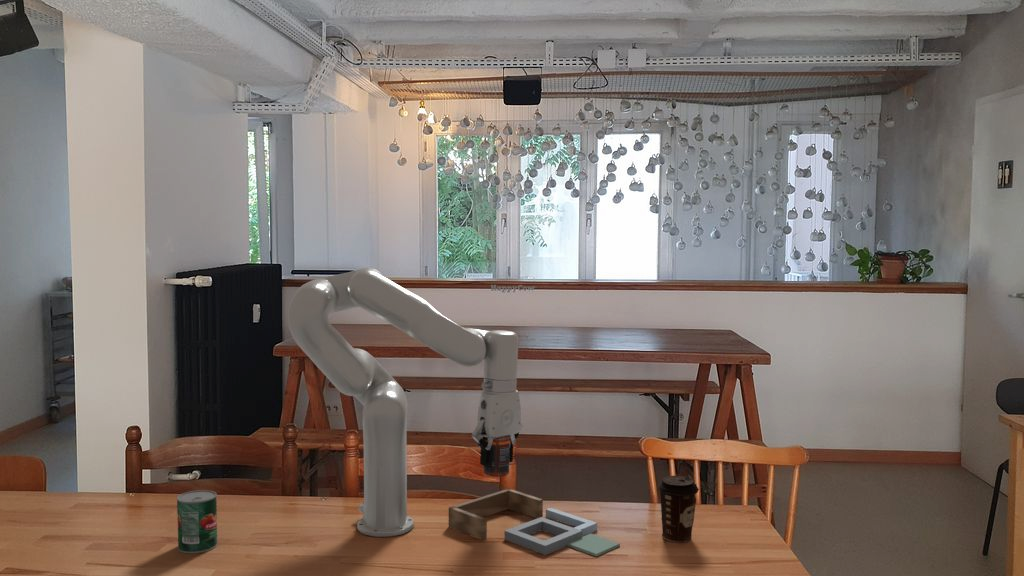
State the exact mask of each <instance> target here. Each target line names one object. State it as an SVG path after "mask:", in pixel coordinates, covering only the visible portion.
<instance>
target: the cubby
mask: <svg viewBox="0 0 1024 576" xmlns="http://www.w3.org/2000/svg"><path fill="white" fill-rule="evenodd" d="M543 500H544V499H542V498H539V497H537V496H534V495H531V494H527V493H525V492H521V491H519V490H518V491H517V490H515V489H511V488H505V489H502V490H500V491H496V492H494V493H490V494H487V495H484V496H481V497H477V498H474V499H472V500H468V501H465V502H462V503H459V504H458V503H457V504H455V505H453V506H450V507H448V528H451V529H453V530H455V531H458V532H461V533H463V534H465V533H466V535H468V534H469V535H468V536H470V535H472V536H471V537H473V536H474V537H473V538H475V537H477V538H476V539H478V538H479V539H478V540H481V539H482V540H481V541H485V540H487V539H488V536H487V535H488V534H487V533H488V532H487V531H488V528H487V527H488V524H487V523H488V521H487V520H488V519H487V518H486V517H489V516H492V515H495V514H498V513H501V512H503V511H507V510H510V511H513V512H516V511H517V513H519V512H520V513H519V514H522V513H524V514H523V515H525V514H526V516H528V515H529V516H528V517H531V516H532V518H534V517H535V518H534V519H537V518H540V517H543V518H544V516H543V513H544V512H543V508H544V504H543V503H544V501H543ZM500 511H501V512H500ZM497 512H498V513H497ZM494 513H495V514H494ZM491 514H492V515H491ZM488 515H489V516H488ZM485 516H486V517H485ZM486 538H487V539H486ZM484 539H485V540H484Z"/></svg>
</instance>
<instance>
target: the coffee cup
mask: <svg viewBox="0 0 1024 576" xmlns="http://www.w3.org/2000/svg"><path fill="white" fill-rule="evenodd" d="M661 481H662V482H661V483H660V484H659V486H658V490H659V492H660V493H659V495H660V511H661V526H662V527H661V529H662V532H661V533H662V534H661V538H662V539H664V540H666V541H668V542H672V543H686V542H688V541H690V540H691V539H692V534H693V533H692V532H693V526H694V523H695V522H694V521H695V514H696V513H695V512H696V503H697V498H696V494H697V493H698V492H699V490H700V489H699V487H698V486H697V483H695V480H694V479H693V478H692V477H690V476H682V475H669V476H665V477H663V478H662V479H661Z"/></svg>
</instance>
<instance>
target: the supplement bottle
mask: <svg viewBox="0 0 1024 576" xmlns="http://www.w3.org/2000/svg"><path fill="white" fill-rule="evenodd" d="M487 440H488V438H486V440H485V441H486V443H487ZM490 449H491V450H492V466H491V467H486V466H483V473H484V474H485V475H486V476H488V477H494V478H495V477H496V478H498V477H499V478H500V477H506V476H507V475H508V474H509V473H510V464H511V462H510V436H504V437H499V438H494V439H493V442H492V445H491V448H490Z"/></svg>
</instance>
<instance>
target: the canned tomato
mask: <svg viewBox="0 0 1024 576" xmlns="http://www.w3.org/2000/svg"><path fill="white" fill-rule="evenodd" d="M217 496H218V495H217V492H216V491H213V490H207V489H206V490H205V489H196V490H192V491H191V490H190V491H187V492H184V493H180V494H179V495H178V496H177V497H176V502H177V503H176V508H177V510H176V511H177V512H176V513H177V542H178V543H177V544H178V546H177V550H178V552H181V553H183V554H200V553H205V552H209V551H211V550H214V549H215V548H216V547H218V517H217V516H218V509H217V507H218V505H217V503H218V502H217Z"/></svg>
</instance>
